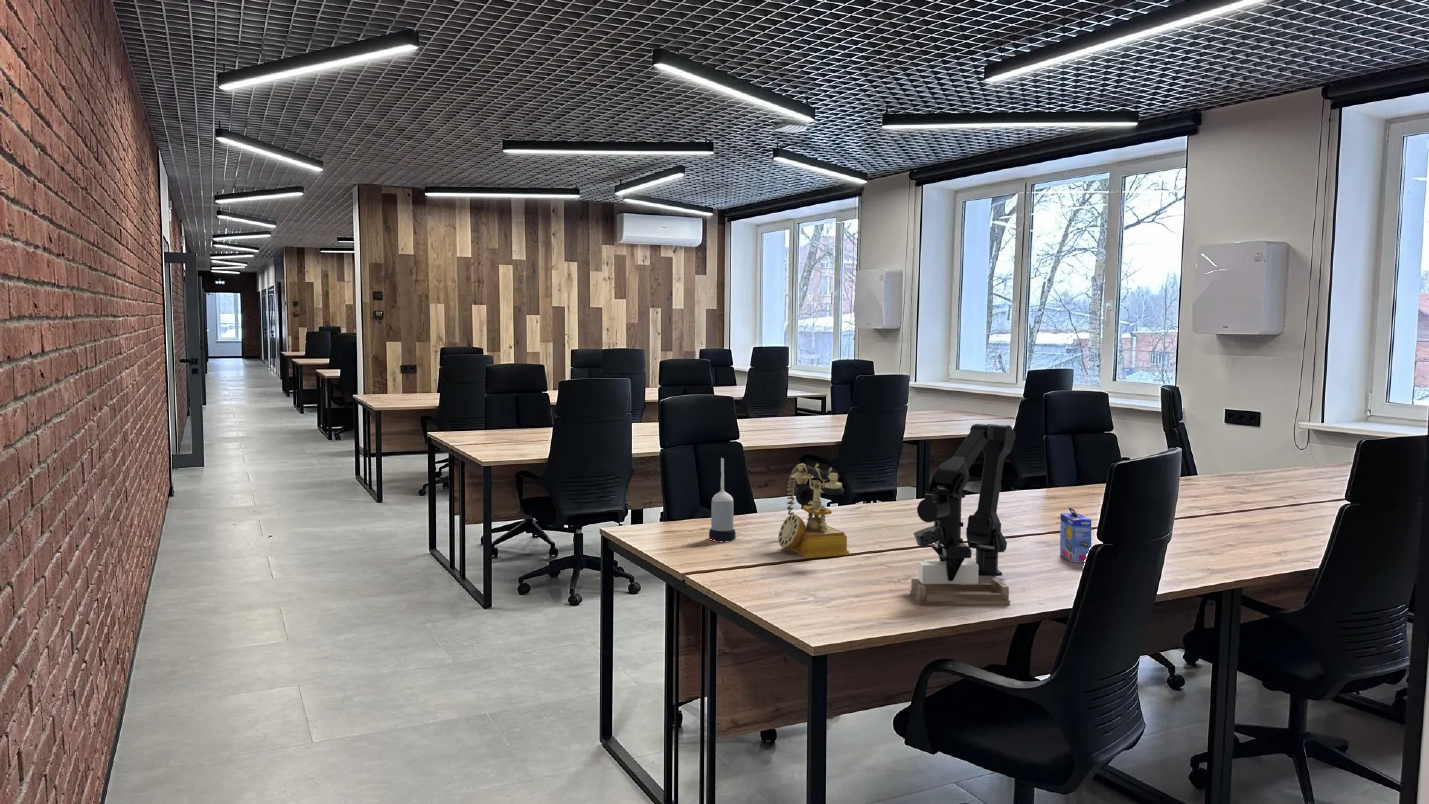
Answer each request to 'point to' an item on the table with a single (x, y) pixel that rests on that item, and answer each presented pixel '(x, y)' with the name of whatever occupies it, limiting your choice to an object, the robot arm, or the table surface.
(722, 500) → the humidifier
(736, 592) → the table surface
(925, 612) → the table surface
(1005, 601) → the tray
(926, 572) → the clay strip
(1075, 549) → the ink cartridge box
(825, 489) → the rotary telephone
